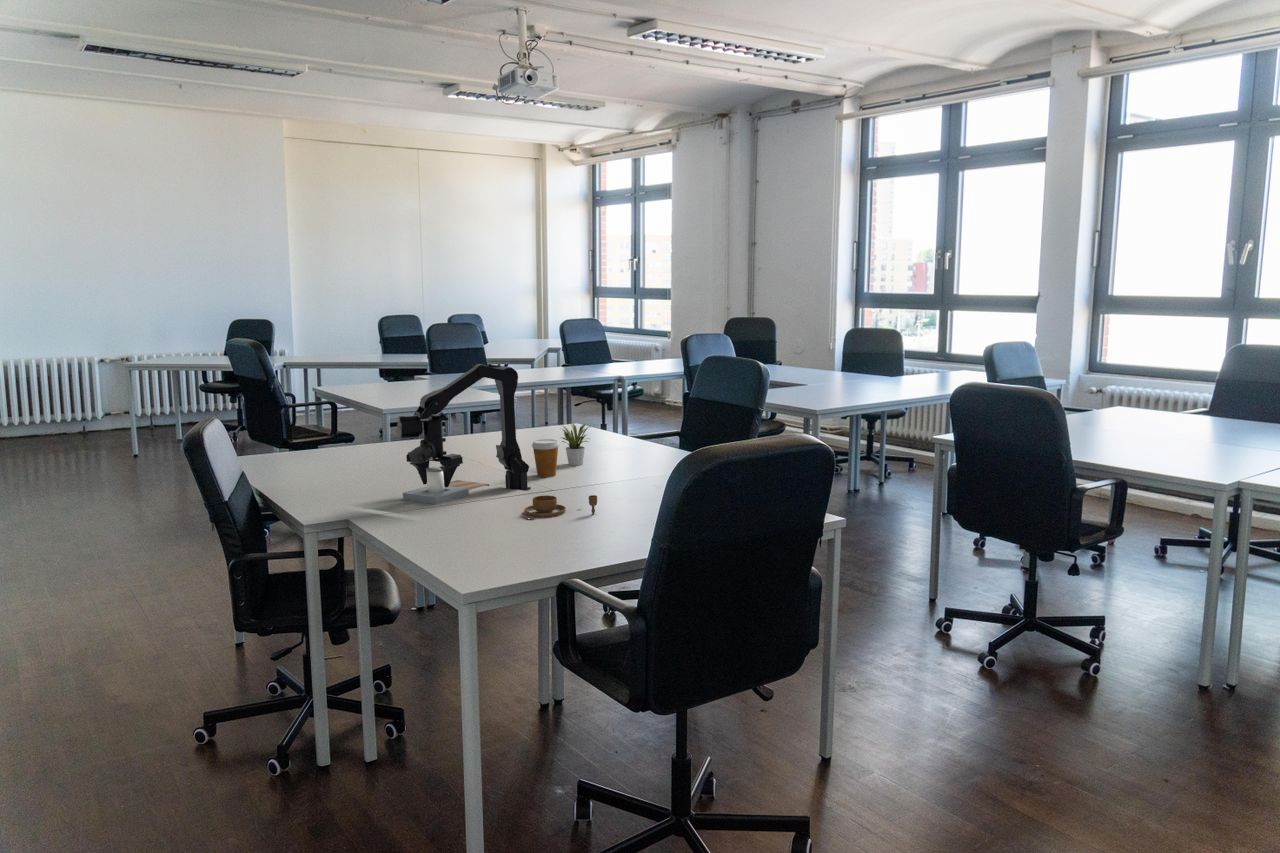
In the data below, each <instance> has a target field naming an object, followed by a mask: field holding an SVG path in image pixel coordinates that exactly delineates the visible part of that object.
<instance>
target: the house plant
mask: <svg viewBox="0 0 1280 853" xmlns="http://www.w3.org/2000/svg"><path fill="white" fill-rule="evenodd" d="M587 424H589V422H585V423H583V424H582V425H581V426H580V427H579V429H578V430H577V426H576V425H575V424H574V422H572V423H571V424H570V426H571V430H570V431H569V429H568V428H567V427H566V426H564V425H562V424H560V426H561V427H563V428H561V430H562V431H563V435H564V437H559V438H560V439H563V441H561V443H565V444H567V445H568V446H566V447H565V451H566V452H565V453H566V457H567V462H568V466H572V465H577V466H583V464H584V458H585V450H586V449H585V448H586V447H585V446H583V445H581V444H583V443H585V442H587V443H589V441H588V440H591V438H590V437H587V438H586V436H587V435H589V434H588V433H586V431H587V430H588V429H589V428H591V427H593V426H596V424H594V425H590V426H588V427H586V425H587ZM585 427H586V428H585ZM585 433H586V434H585ZM586 439H587V440H586ZM564 440H565V441H564ZM566 441H567V442H566Z"/></svg>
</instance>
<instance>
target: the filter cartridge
mask: <svg viewBox="0 0 1280 853" xmlns="http://www.w3.org/2000/svg"><path fill="white" fill-rule="evenodd" d="M440 467H441V466H429V468H426V471H427V484H426V487H427V489H428V493H433V494H438V493H441V492H444V475H443V470H442V469H441V468H440Z"/></svg>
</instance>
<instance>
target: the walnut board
mask: <svg viewBox="0 0 1280 853" xmlns="http://www.w3.org/2000/svg"><path fill="white" fill-rule="evenodd" d="M449 486H453V487H460V488H468V489H469V491H470V490H473V489H477V488H480V487H485V486H486V487H490V484H489V483H482V482H476V481H467V480H461V479H457V480H453V481H452V480H451V482H450V484H449Z"/></svg>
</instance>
